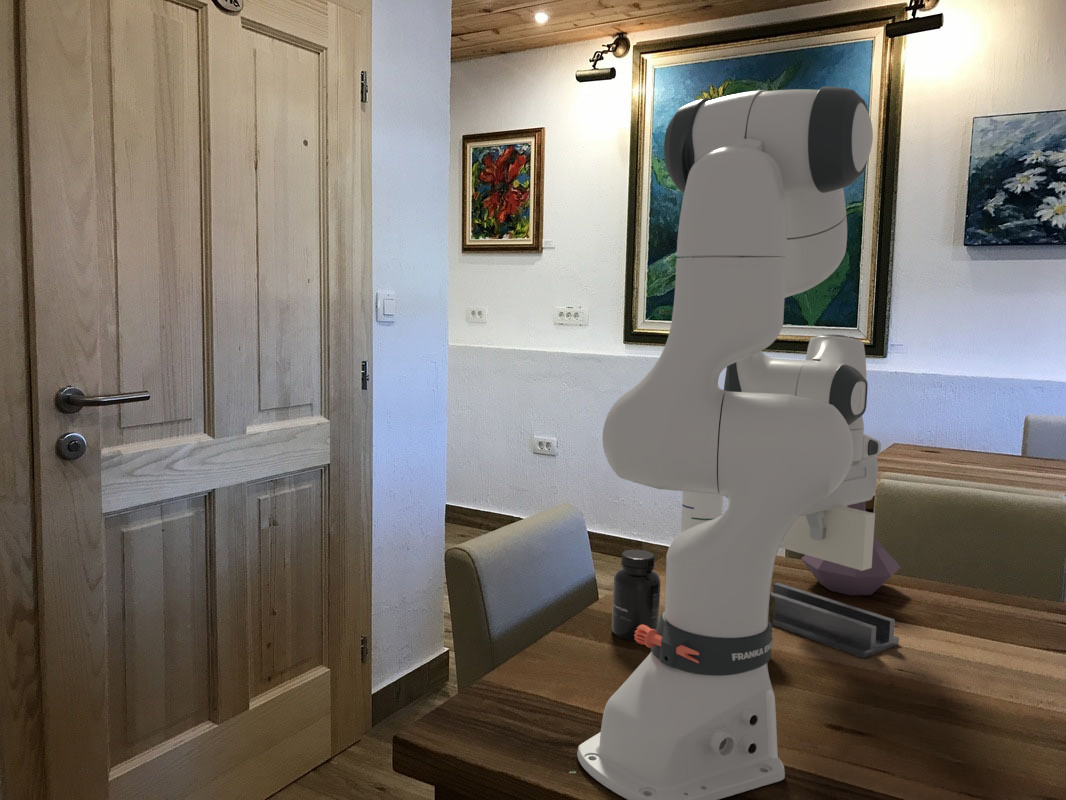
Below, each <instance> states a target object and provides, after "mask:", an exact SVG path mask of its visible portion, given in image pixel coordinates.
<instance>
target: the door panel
mask: <svg viewBox="0 0 1066 800" xmlns="http://www.w3.org/2000/svg"><path fill="white" fill-rule="evenodd" d="M875 519H876V513H875V512H869V511H867V510H866V511H862V510H858V509H853V508H849V507H844V506H840V507H836V508H832V509H830V510H826V511H824V517H823V518H821V520H822V524H823V527H825V528H826V538H825V539H821V540H815V539H811V537H810V526H809V523H808V521H807V518H806V515H804V516H800V517H798V519H797V520H796V521H795V522H794V523H793V524H792V526H791V527H790V528H789V530H788V531H787V533H786V534H785V536H784V538H783V540H782V542H781V544H780V547H779V548H780V549H785V550H788V551H791V552H795V553H797V554H802V555H808V556H812V557H815V558H819V559H822V560H826V561H829V562H833V563H837V564H840V565H844V566H847V567H851V568H854V569H858V570H861V571H863V570H866V569H870V568H872V554H873V539H874V536H875V523H876V522H875Z"/></svg>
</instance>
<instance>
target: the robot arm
mask: <svg viewBox="0 0 1066 800" xmlns="http://www.w3.org/2000/svg"><path fill="white" fill-rule="evenodd" d="M665 131H666V132H665V135H664V142H663V143H664V144H663V147H664V148H663V150H664V151H663V154H664V162H665V167H666V170H667V173H668V176H669V177H670V179H671V181H672V183H673V184H674V186H676V188H677V189H678V190H679V192H681V193H683V198H682V203H681V208H680V214H679V222H678V232H677V241H676V242H677V243H676V262H675V263H676V265H675V266H676V267H675V282H674V283H675V286H674V296H673V297H674V298H673V306H672V307H673V308H672V313H671V315H672V316H671V321H670V322H671V324H670V330H669V333H668V337H667V340H666V342H665V346H664V347H663V350H662V352H661V354H660V356H659V358H658V360H657V361H656V362H655V364H654V365H653V367H652V368H651V369H650V371H649V372H648V373H647V375H645V377H643V379H641V380H640V381H639V383H637V384H636V385H635V386H633V387H632V388H631V389H630V390H628V391H627V392H625V393H624V394H623V395H621V396H620V397H619V398H618V399H617V400H616V402H614V403H613V405H612V407H610V409H609V412H608V414H607V415H606V418H605V420H604V425H603V428H602V446H603V452H604V454H605V458H606V460H607V463H608V464H609V466H610V467H611V469H612V471H613V472H614V473H615V475H616V476H617V477H618V478H620V479H622V480H626V481H629V482H632V483H636V484H638V485H642V486H646V487H650V488H654V489H657V490H664V491H675V492H676V491H678V492H683V491H687V492H699V493H711V494H720V495H722V496H723V497H725V498H726V499H727V501H728V506H727V508H726V510H725V511H723V512H722V515H720V516H719V517H717V518H715V519H712V520H710V521H707V522H704V523H701V524H699V525H696V526H694V527H692V528H690V529H688V530H686V531H684V532H682V533H681V532H680V534H678V535H677V536H676V537H675V538H674V539H673V540H672V542H671V543H670V545H669V547H668V550H667V552H666V559H665V585H664V586H665V587H664V588H665V589H664V609H663V611H662V612H661V614H660V616H659V622H658V625H657V628H656V630H655V629H650V628H649V627H648V626H646V625H640V626H638V627H637V629H638V630H636V631H635V633H636V634H635V635H634V637H636V638H634V639H635V640H636V641H635V642H636V643H637V644H640V645H645V646H646V647H647V648H649V649H650V652H649V654H648V655H647V656H646V657H645V658H644V659H643V661H641V663H640V664H639V665H638V666H637V667H636V669H634V671H633V672H632V673H631V674H630V676H628V678H627V679H626V680H625V681H624V682H623V684H621V686H620V687H619V688H618V689H617V690H616V691H615V692H614V693H613V694H612V695H611V696H610V697H609V699H608V700H607V701H606V704H605V707H604V709H603V714H602V720H601V726H600V727H601V728H600V731H599V732H598V733H597V734H595V735H593V736H591V737H590V738H588V739H587V740H585V741H584V742H582V743H581V744H579V745H578V747H577V755H576V756H577V760H578V762H579V764H580V765H581V766H582V768H583V769H584V770H585V771H586V772H587V774H589V775H590V776H591V777H592V778H593V779H595V780H596V781H597V782H599V783H600V784H601V785H602V786H604V787H605V788H606V789H609V790H611V791H612V792H613V793H615V794H617V795H618V796H621V797H622V798H624V799H626V800H721V799H724V798H727V797H732V796H734V795H738V794H742V793H745V792H747V791H748V792H749V791H751V790H755V789H758V788H761V787H763V786H768V785H771V784H775V783H778V782H781V781H783V780H784V779H785V778H786V777H785V776H786V775H785V774H786V772H785V765H784V764H783V762H782V760H781V759H780V756H779V755H778V753H779V752H778V751H779V750H778V735H777V734H778V731H777V712H776V711H777V709H776V697H775V692H774V689H773V686H772V681H771V678H770V675H769V668H768V662H769V661H770V660H771V658H772V647H773V644H774V643H773V642H774V639H773V636H772V635H773V633H772V632H773V626H771V623H770V622H769V621H768V615H769V600H770V592H771V590H772V589H771V588H772V581H773V574H774V566H775V563H776V558H777V554H778V552H779V548H780V544H781V542H782V540H783V538H784V536H785V534H786V533H787V531H788V530H789V528H790V527H791V526H792V524H793V523H794V522H795V521H796V520H797V519H798V517H800V516H804V515H806V518H807V521H808V523H809V526H810V537H811V539H815V540H821V539H825V538H826V528H825V527H823V524H822V520H821V518H823V517H824V511H826V510H830V509H832V508H836V507H840V506H844V507H847V506H848V505H851V504H856V503H860V502H864V501H865V502H868V501H871V500H872V499H873V497H874V495H875V494H876V492H877V490H876V489H877V485H878V484H877V483H878V482H877V481H878V472H879V461H878V457H877V456H878V455H880V454H881V449H882V448H881V447H882V443H881V441H880V440H878V439H876V438H873V437H871V436H870V435H867V434H865V432H864V431H865V423H864V419H863V415H865V412H866V409H867V401H868V385H869V384H868V380H867V361H866V359H867V358H866V350H865V345H864V342H863V341H862V340H860V339H859V338H857V337H854V336H849V335H844V334H832V333H830V334H820V335H819V334H817V335H815V336H812V337H810V340H809V342H808V345H807V350H806V351H807V352H806V356H805V359H804V360H802V359H787V358H786V359H781V358H773V357H770V356H768V355H766V354H765V353H764V352H763V350H765V349H767V348H768V347H770V346H771V345H772V344H773V343H774V342H775V341H776V340H777V338H778V337H779V335H780V334H781V331H782V330H783V326H784V314H785V313H784V312H785V299H786V298H788V297H789V298H790V297H791V296H794V295H799V294H800V293H804V292H806V291H809V290H810V289H812V288H814V287H816V286H817V285H819V284H821V283H822V282H824V281H825V280H826V279H828V278H829V277H830V276H831V275H832V274H833V273H835V271H836V270H837V269H838V268H839V266H840V265H841V263H842V261H843V260H844V257H845V254H846V250H847V244H848V243H847V242H848V221H847V220H848V218H847V207H846V206H847V205H846V197H845V191H844V188H846V187H849V186H851V185H852V184H853V183H855V181H856V180H857V179H859V178H860V177H861V176H862V175H863V173H864V172H865V169H866V167H867V164H868V161H869V158H870V155H871V152H872V151H871V150H872V147H873V139H874V131H873V124H872V120H871V116H870V113H869V109H868V105H867V102H866V101H865V99H864V98H862V97H861V95H860V94H858V92H856V91H855V90H854V89H851V88H846V87H838V86H822V87H821V88H819V89H809V88H807V89H803V88H802V89H800V88H799V89H796V88H795V89H794V88H793V89H777V90H765V89H757V90H752V91H751V90H750V91H744V92H739V93H734V94H730V95H726V96H721V97H717V98H714V99H711V98H709V97H705V98H702V99H698V100H694V101H692V102H689V103H687V104H685V105H683V106H681V107H679V108H678V109H677V110H676V113H674V115H673V117H672V118H671V119H670V121H669V123H668V125H667V128H666V130H665ZM724 369H726V371H725V375H724V376H725V378H724V385H723V389H721V388H720V387H719V379H720V378H719V377H720V375H721V373H722V372H723V371H724Z"/></svg>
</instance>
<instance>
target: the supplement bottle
mask: <svg viewBox="0 0 1066 800" xmlns="http://www.w3.org/2000/svg"><path fill="white" fill-rule="evenodd" d="M655 559H656V556H655V554H654V553H652V552H650V551H648V550H642V549H629V550H624V551H623V552H622V553H621V561H620V566H621V568H620V569H619V570H617V571H616V572H615V574H614V577H613V588H612V589H613V592H612V593H613V594H612V612H611V614H612V615H611V630H612V632H613V634H614V635H615V636H616V637H618V638H621V639H623V640H627V641H633V642H636V640H635V639H634V638H636V637H634V635H635V634H636V633H635V631H636V630H638V629H637V627H638V626H640V625H646V626H648V627H649V628H650V629H655V630H656V628H657V625H658V622H659V619H660V602H661V601H660V599H661V578H660V575H659V574H658V573H657V572H656V571H655V570H654V569H655V567H656V564H655Z"/></svg>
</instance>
